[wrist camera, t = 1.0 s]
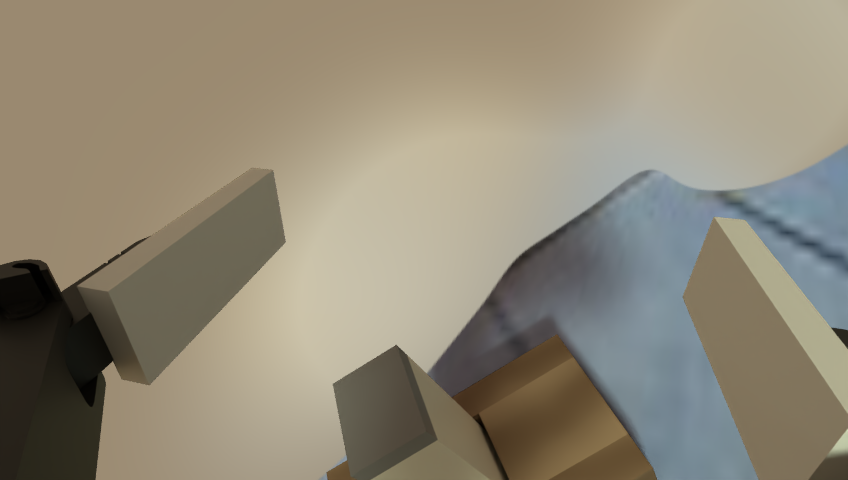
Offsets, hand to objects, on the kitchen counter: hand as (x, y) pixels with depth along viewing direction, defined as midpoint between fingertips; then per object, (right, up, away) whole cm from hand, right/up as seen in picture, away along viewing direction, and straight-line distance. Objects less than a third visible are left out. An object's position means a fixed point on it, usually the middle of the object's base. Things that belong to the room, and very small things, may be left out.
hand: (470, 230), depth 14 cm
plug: (+3, -17, +18) cm, 25 cm away
